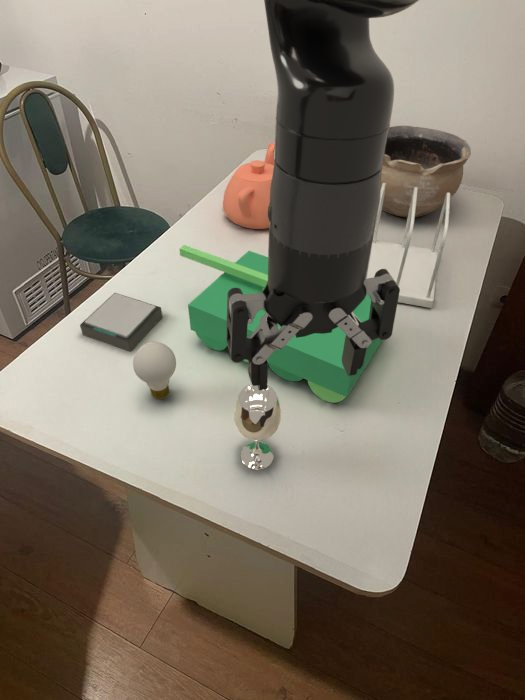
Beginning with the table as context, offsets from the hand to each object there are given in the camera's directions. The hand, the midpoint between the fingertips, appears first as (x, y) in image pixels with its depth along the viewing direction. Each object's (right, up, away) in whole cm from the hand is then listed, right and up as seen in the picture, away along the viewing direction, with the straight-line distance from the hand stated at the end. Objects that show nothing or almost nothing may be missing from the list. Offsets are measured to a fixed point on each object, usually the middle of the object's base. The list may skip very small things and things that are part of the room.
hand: (305, 376), depth 48 cm
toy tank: (-3, +5, +39) cm, 39 cm away
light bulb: (-19, -5, +29) cm, 35 cm away
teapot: (-5, +33, +67) cm, 75 cm away
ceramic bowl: (+28, +35, +71) cm, 84 cm away
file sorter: (+17, +18, +52) cm, 58 cm away
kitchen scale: (-28, +7, +40) cm, 49 cm away
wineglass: (-5, -12, +21) cm, 25 cm away
